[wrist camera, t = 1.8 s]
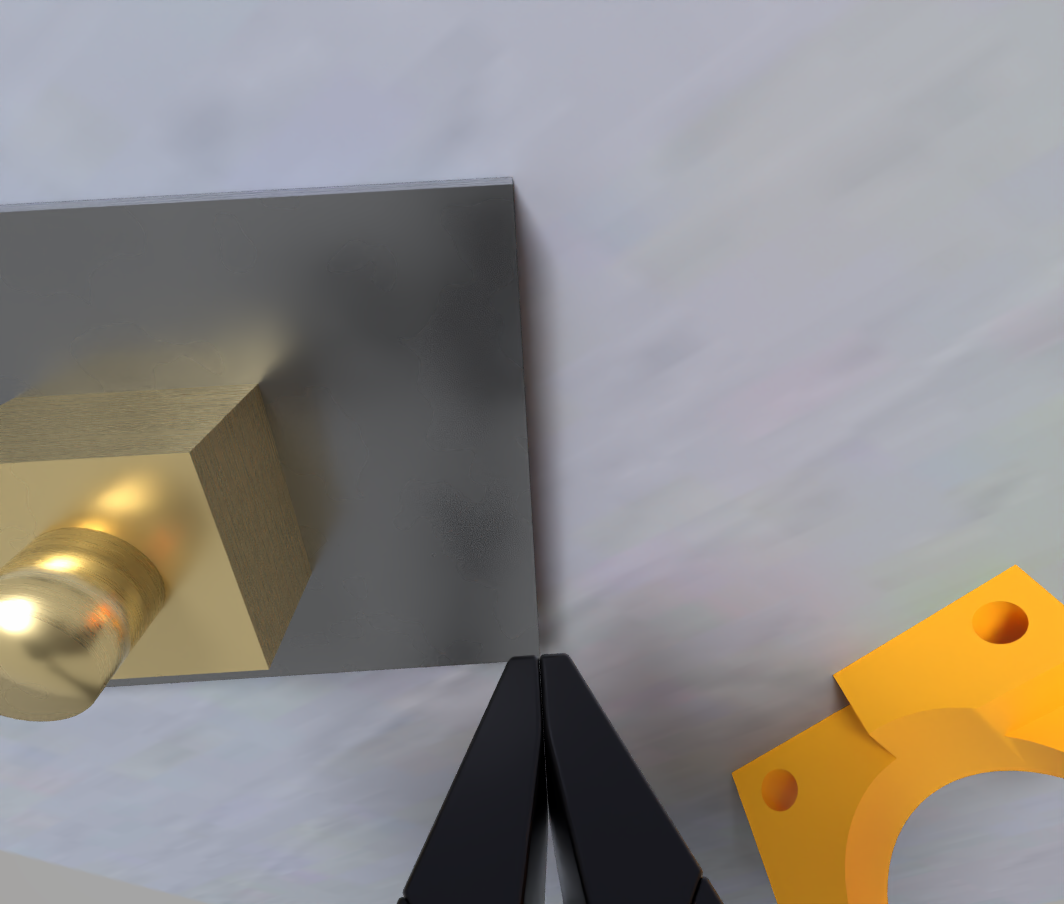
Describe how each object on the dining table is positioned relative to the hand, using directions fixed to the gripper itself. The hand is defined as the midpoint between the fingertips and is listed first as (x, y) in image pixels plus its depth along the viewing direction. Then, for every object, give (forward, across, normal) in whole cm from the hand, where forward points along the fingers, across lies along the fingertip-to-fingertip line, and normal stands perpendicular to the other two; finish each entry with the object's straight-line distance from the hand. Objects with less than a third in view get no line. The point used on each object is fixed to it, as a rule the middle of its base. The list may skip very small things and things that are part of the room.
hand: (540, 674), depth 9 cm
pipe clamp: (+8, -12, +11) cm, 18 cm away
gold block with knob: (+6, +8, 0) cm, 10 cm away
